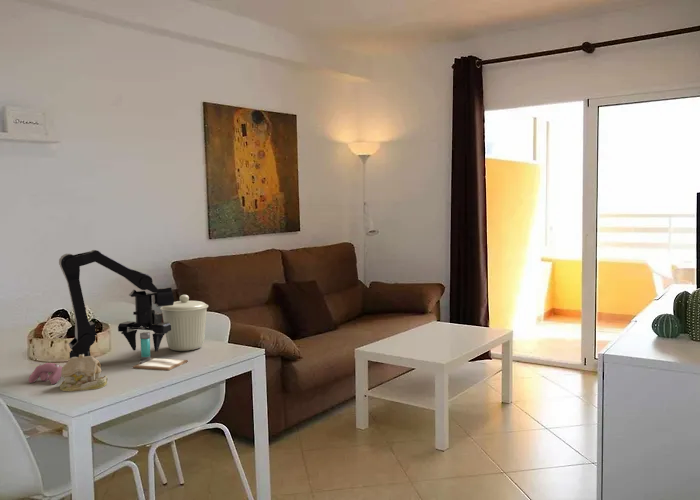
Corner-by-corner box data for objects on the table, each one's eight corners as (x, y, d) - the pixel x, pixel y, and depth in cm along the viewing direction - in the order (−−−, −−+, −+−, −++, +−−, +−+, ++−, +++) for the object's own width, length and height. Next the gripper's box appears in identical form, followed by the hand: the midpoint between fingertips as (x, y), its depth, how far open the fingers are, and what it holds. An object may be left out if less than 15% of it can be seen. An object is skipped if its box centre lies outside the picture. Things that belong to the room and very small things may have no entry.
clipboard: (168, 370, 205) (168, 366, 205) (132, 368, 209) (132, 364, 209) (187, 361, 217) (187, 357, 217) (153, 359, 220) (153, 355, 220)
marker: (147, 360, 219) (146, 334, 219) (139, 360, 220) (138, 333, 219) (152, 358, 222) (151, 332, 222) (144, 358, 223) (143, 332, 223)
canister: (198, 341, 251) (196, 290, 249) (217, 348, 236) (215, 294, 235) (154, 347, 240) (152, 294, 238) (172, 356, 225) (170, 299, 224)
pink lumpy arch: (62, 386, 193) (68, 364, 196) (52, 384, 189) (58, 361, 192) (36, 384, 196) (42, 363, 199) (26, 382, 192) (32, 360, 195)
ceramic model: (52, 392, 182) (51, 359, 182) (65, 382, 193) (64, 351, 193) (101, 390, 184) (100, 357, 183) (112, 380, 195) (110, 349, 194)
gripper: (178, 305, 225) (180, 347, 226) (135, 303, 230) (136, 344, 231) (161, 310, 214) (163, 354, 215) (116, 308, 220) (117, 351, 221)
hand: (145, 350), depth 221 cm, fingers open, 9 cm apart
